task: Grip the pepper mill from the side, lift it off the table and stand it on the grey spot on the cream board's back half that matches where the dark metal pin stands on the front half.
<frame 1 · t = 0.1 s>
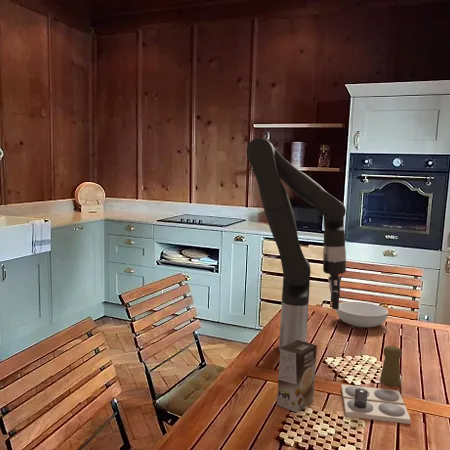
hand: (334, 305, 162), 17 cm above the table, tool pointing down, fingers open, 8 cm apart
layout board: (373, 404, 129), on the table
coffee box: (295, 403, 129), on the table
pepper mill: (390, 382, 144), on the table
serving bowl: (360, 324, 197), on the table
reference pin: (359, 410, 126), resting on layout board
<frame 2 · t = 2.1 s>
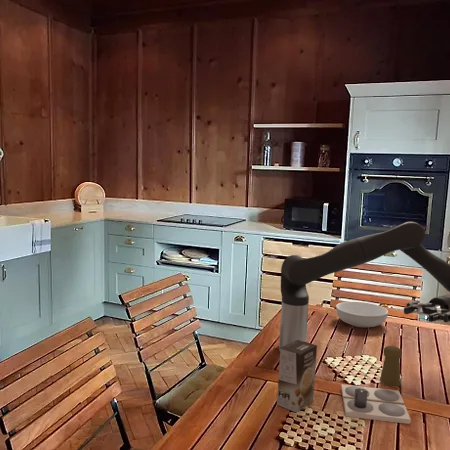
hand: (417, 314, 148), 19 cm above the table, tool horizontal, fingers open, 8 cm apart
nothing on the table moved.
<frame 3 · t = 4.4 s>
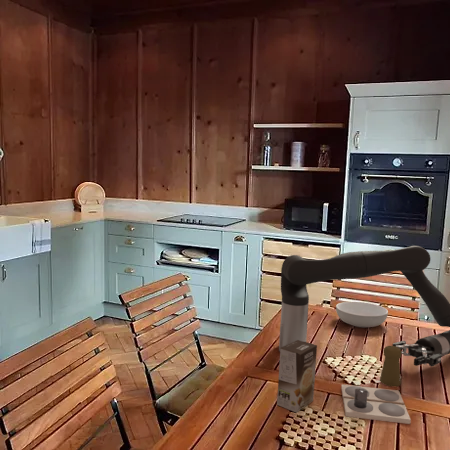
hand: (402, 357, 146), 7 cm above the table, tool horizontal, fingers open, 8 cm apart
nothing on the table moved.
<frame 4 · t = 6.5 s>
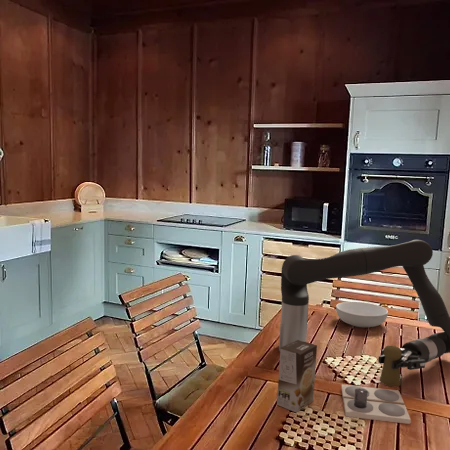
hand: (386, 362, 141), 7 cm above the table, tool horizontal, fingers closed on pepper mill, 4 cm apart
pepper mill: (390, 382, 144), on the table, touching gripper
everything else where it was.
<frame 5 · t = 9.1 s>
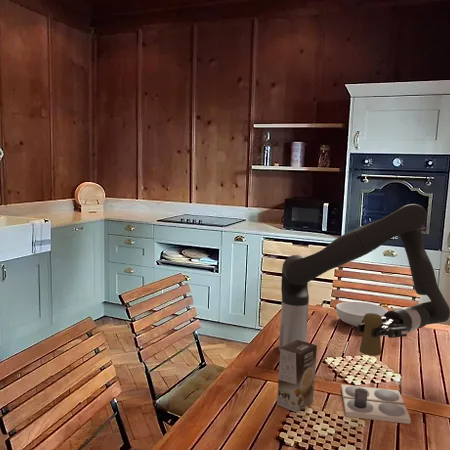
hand: (365, 331, 133), 19 cm above the table, tool horizontal, fingers closed on pepper mill, 4 cm apart
pepper mill: (370, 352, 135), point 12 cm above the table, touching gripper
everything else where it was.
when the fingers open (9 cm above the table, at t = 11.8 s): pepper mill stays where it is, resting on layout board.
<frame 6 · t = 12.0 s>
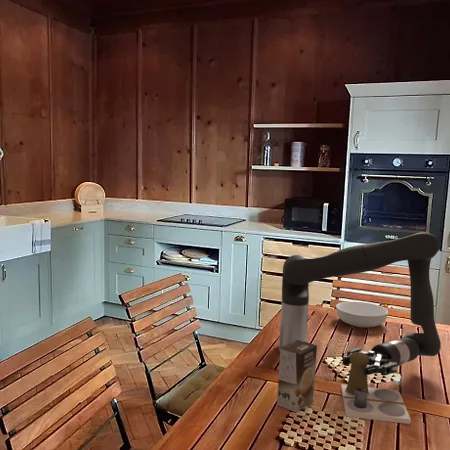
hand: (353, 366, 131), 9 cm above the table, tool horizontal, fingers open, 7 cm apart
pepper mill: (357, 391, 134), point 1 cm above the table, touching layout board
everything else where it was.
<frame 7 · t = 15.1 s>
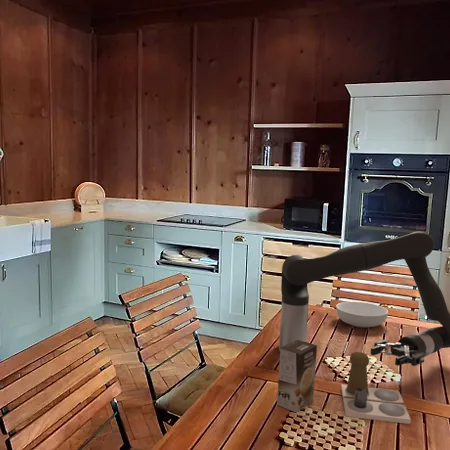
hand: (383, 356, 139), 9 cm above the table, tool horizontal, fingers open, 8 cm apart
nothing on the table moved.
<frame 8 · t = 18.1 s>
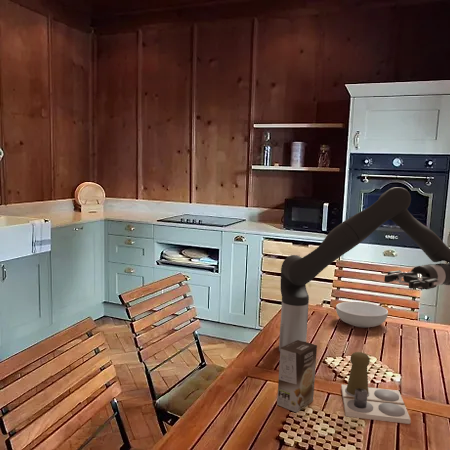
hand: (397, 281, 144), 30 cm above the table, tool horizontal, fingers open, 8 cm apart
nothing on the table moved.
at the end: pepper mill 0.4 cm from the target spot, point 1.2 cm above the table; pepper mill tilted 1°; the gripper is holding nothing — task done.
